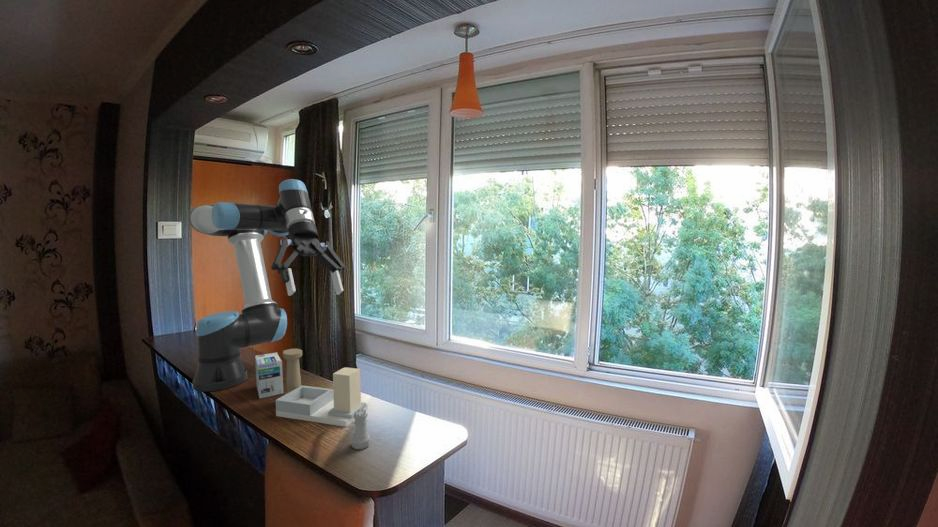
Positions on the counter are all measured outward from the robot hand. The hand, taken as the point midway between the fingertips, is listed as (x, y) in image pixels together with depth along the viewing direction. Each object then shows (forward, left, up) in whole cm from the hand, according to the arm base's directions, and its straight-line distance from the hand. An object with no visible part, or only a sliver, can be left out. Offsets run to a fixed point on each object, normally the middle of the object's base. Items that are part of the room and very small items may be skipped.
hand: (317, 293), depth 95 cm
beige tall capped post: (-13, +5, -34) cm, 37 cm away
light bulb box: (-26, +9, -34) cm, 44 cm away
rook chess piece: (+19, -10, -34) cm, 40 cm away
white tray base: (0, +1, -34) cm, 34 cm away
